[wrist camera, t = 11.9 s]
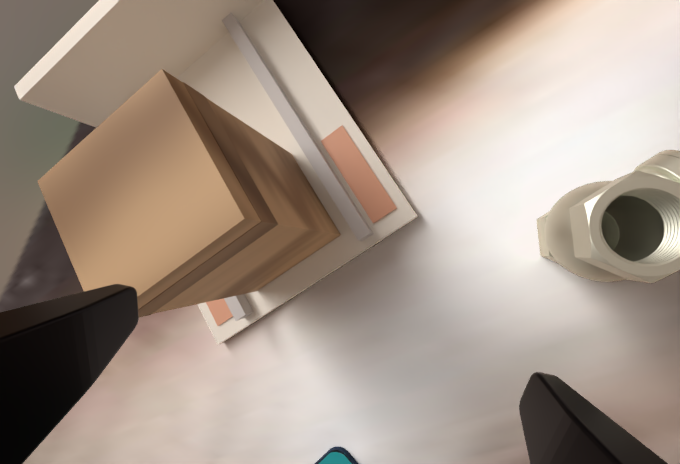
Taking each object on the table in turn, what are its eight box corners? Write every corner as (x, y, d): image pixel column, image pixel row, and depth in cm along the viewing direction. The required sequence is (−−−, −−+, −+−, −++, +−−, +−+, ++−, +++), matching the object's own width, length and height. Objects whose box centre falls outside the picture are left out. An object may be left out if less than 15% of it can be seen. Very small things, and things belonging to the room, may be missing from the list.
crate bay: (418, 216, 20) (407, 200, 14) (223, 342, 23) (140, 377, 17) (266, -9, 23) (202, -105, 17) (115, 126, 27) (13, 86, 20)
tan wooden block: (341, 234, 20) (245, 218, 10) (256, 291, 22) (98, 326, 12) (291, 153, 22) (162, 67, 12) (214, 211, 23) (36, 180, 13)
